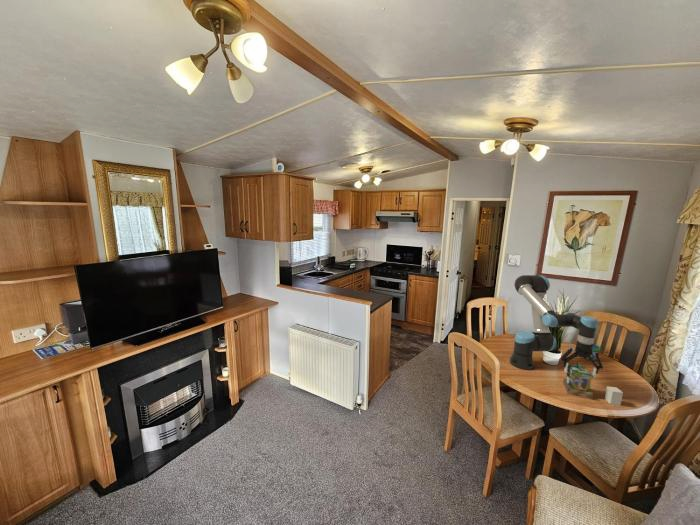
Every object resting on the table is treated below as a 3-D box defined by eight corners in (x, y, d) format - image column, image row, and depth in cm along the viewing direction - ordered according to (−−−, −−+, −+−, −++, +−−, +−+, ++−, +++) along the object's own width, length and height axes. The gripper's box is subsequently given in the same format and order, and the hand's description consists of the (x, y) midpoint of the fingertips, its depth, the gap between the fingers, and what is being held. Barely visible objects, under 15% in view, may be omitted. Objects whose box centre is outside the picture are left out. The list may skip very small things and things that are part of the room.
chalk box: (589, 392, 170) (593, 369, 167) (571, 389, 173) (575, 366, 170) (582, 383, 179) (586, 361, 176) (565, 380, 181) (568, 358, 179)
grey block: (610, 404, 165) (612, 391, 163) (604, 398, 170) (606, 386, 168) (620, 405, 164) (622, 392, 162) (614, 399, 169) (616, 387, 167)
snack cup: (591, 363, 210) (593, 350, 208) (575, 357, 219) (577, 344, 218) (603, 359, 216) (605, 347, 214) (587, 353, 225) (589, 341, 224)
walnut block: (567, 394, 174) (568, 388, 173) (562, 384, 184) (563, 378, 184) (592, 400, 169) (593, 394, 168) (586, 389, 179) (587, 383, 178)
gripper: (560, 340, 173) (555, 372, 177) (614, 349, 162) (607, 383, 166) (558, 335, 180) (553, 366, 184) (609, 344, 169) (603, 377, 173)
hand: (579, 374), depth 175 cm, fingers open, 13 cm apart
